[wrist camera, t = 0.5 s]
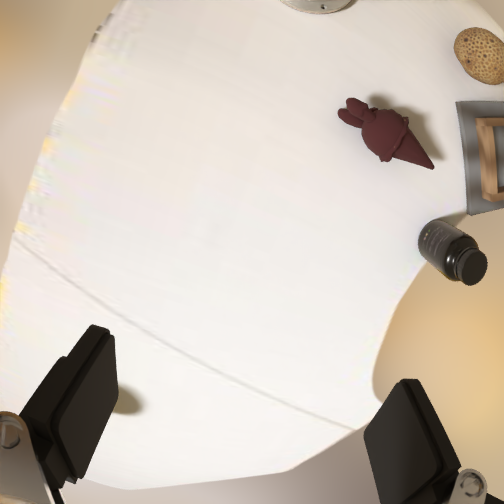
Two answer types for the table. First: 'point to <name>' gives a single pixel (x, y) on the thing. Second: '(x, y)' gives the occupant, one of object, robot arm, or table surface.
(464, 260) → the supplement bottle
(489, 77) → the natural sponge
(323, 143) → the table surface
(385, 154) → the icecream
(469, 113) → the collar board
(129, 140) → the table surface
